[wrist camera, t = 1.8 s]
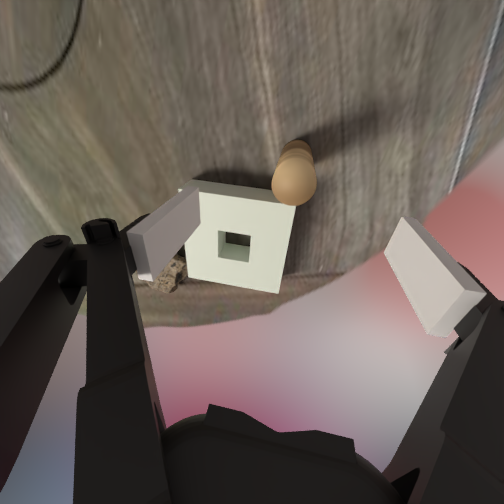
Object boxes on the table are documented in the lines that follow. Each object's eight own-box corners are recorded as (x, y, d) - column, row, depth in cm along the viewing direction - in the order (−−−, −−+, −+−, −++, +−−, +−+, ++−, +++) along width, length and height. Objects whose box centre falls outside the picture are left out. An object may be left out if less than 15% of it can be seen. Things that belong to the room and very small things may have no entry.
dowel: (283, 137, 29) (274, 158, 20) (314, 141, 29) (321, 164, 19) (279, 169, 32) (269, 202, 22) (308, 173, 31) (311, 208, 21)
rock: (146, 224, 41) (131, 236, 38) (198, 258, 43) (189, 272, 40) (130, 259, 47) (117, 272, 44) (177, 287, 49) (167, 301, 46)
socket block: (191, 179, 35) (178, 188, 31) (296, 193, 33) (295, 205, 29) (197, 262, 44) (188, 277, 40) (280, 276, 42) (278, 293, 38)
